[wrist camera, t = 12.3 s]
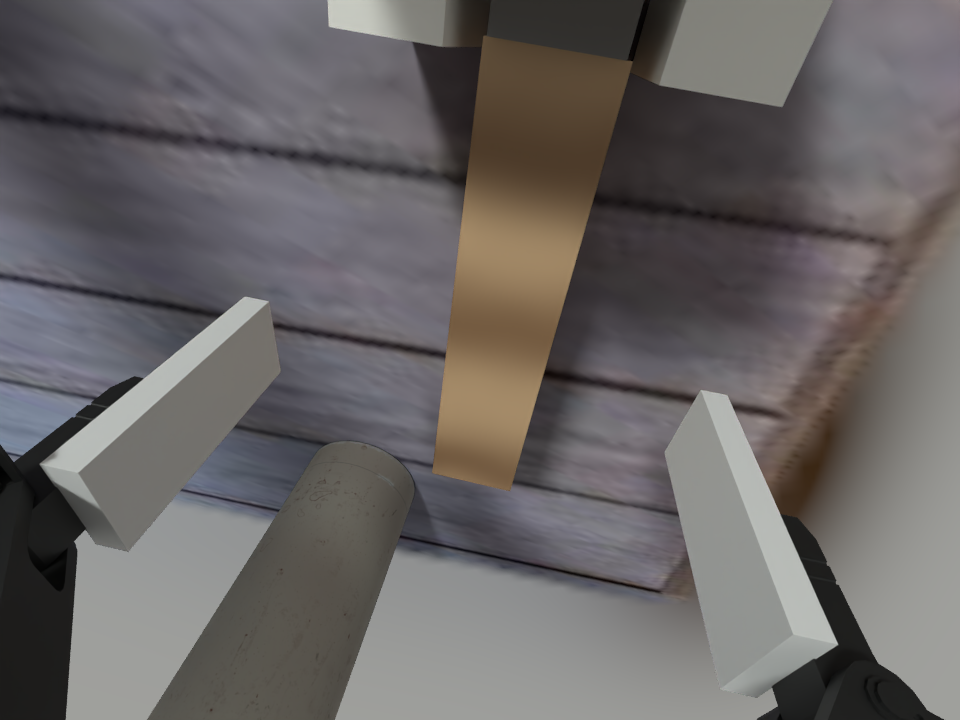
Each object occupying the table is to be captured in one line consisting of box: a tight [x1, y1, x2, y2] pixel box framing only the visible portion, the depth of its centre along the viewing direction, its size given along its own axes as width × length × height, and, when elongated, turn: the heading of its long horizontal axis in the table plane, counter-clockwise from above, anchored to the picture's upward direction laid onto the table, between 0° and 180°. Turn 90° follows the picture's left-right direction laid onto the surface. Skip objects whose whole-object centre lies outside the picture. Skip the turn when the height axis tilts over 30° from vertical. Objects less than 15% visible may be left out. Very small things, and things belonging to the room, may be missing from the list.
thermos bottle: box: [147, 441, 415, 720], centre depth 22 cm, size 8×8×28 cm
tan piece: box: [432, 0, 644, 491], centre depth 18 cm, size 20×4×7 cm, turn 172°
